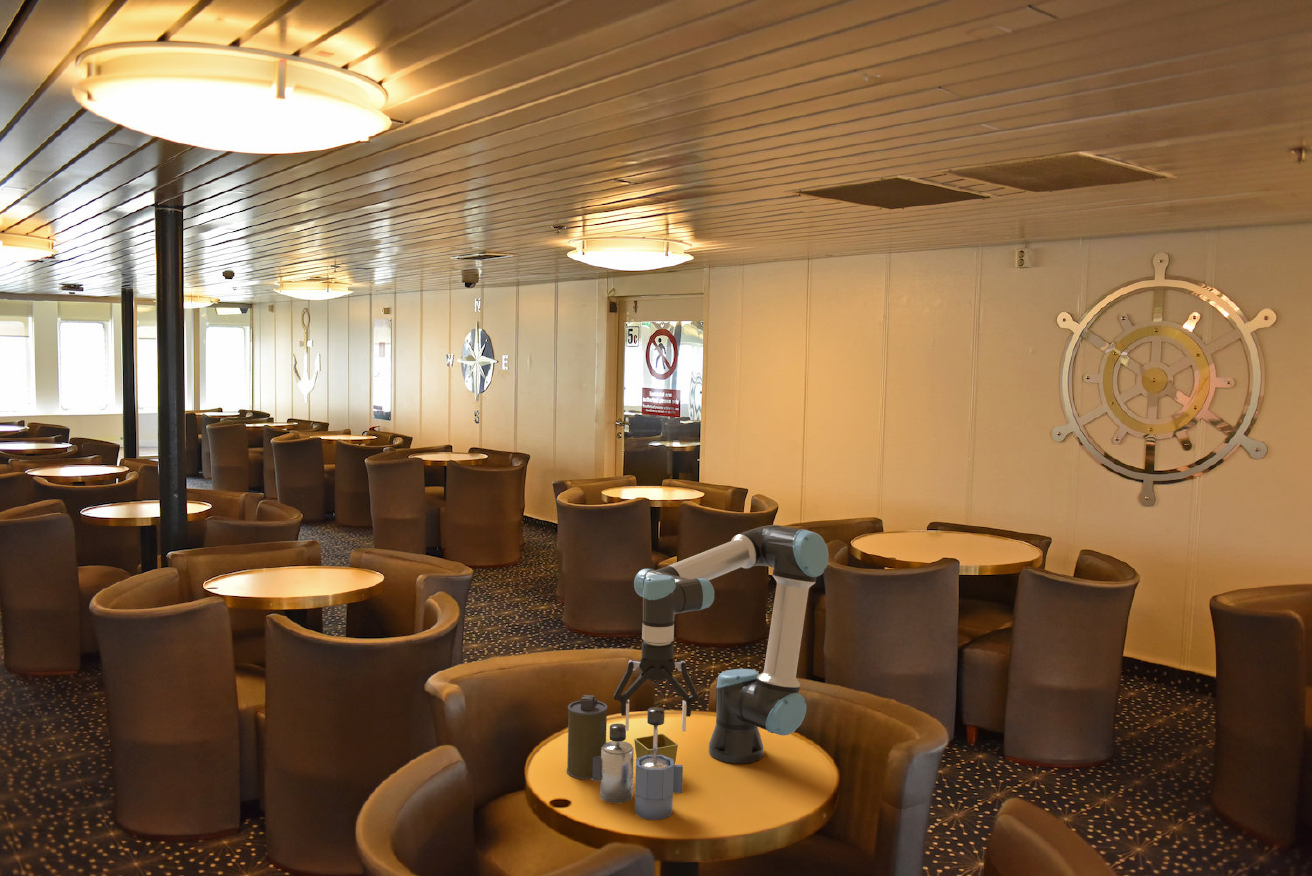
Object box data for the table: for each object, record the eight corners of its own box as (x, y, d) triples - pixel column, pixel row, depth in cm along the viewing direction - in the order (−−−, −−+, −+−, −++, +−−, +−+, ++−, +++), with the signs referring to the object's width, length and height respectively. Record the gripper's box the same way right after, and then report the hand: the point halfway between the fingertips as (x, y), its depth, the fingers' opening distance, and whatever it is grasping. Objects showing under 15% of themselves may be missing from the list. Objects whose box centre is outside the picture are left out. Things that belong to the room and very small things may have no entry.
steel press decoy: (632, 789, 237) (634, 720, 236) (632, 803, 229) (634, 732, 228) (592, 788, 237) (594, 720, 236) (591, 803, 229) (593, 732, 228)
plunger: (667, 761, 228) (669, 705, 227) (669, 772, 222) (670, 715, 221) (640, 761, 228) (642, 705, 227) (641, 772, 221) (642, 714, 221)
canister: (600, 781, 241) (602, 705, 240) (561, 777, 244) (562, 701, 242) (610, 764, 252) (612, 691, 251) (573, 760, 254) (574, 688, 253)
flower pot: (647, 784, 241) (648, 749, 240) (632, 771, 248) (633, 738, 248) (677, 778, 245) (678, 744, 244) (662, 765, 252) (663, 733, 252)
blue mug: (680, 803, 230) (681, 755, 229) (682, 820, 221) (683, 770, 220) (634, 802, 230) (635, 754, 229) (634, 819, 221) (636, 769, 220)
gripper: (708, 637, 227) (706, 724, 228) (605, 635, 226) (603, 722, 228) (711, 646, 220) (708, 735, 221) (604, 644, 219) (602, 734, 220)
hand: (655, 729), depth 224 cm, fingers open, 13 cm apart
